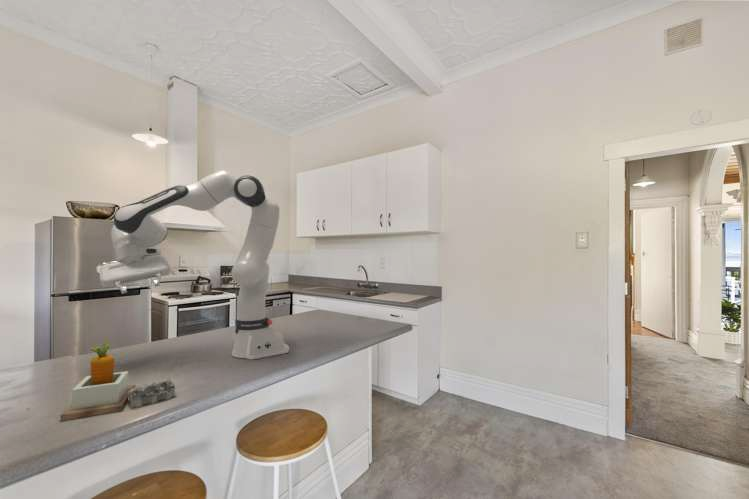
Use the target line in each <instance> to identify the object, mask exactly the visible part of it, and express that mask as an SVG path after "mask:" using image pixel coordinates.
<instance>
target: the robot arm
mask: <svg viewBox="0 0 749 499" xmlns="http://www.w3.org/2000/svg"><path fill="white" fill-rule="evenodd" d="M230 198H235V199H236V200H237V201H239V202H240V203H242V204H243V205H245V206H248V207H250V208H251V216H250V220H249V224H248V226H247V227H248V228H247V232H246V235H245V238H244V242H243V245H242V247H241V249H240V251H239V253H238V256H237V258H236V261H235V263H234V265H233V266H232V268H231V271H230V272H231V279H232V280H233V281H234V282H235V283H236V284H237V285H239V286H240V288H239V291H238V292H239V293H238V295H237V298H236V319H235V321H234V333H235V337H234V344H233V347H232V350H231V351H232V352H231V356H232V357H234V358H239V359H245V360H256V359H257V360H258V359H261V358H262V359H263V358H267V357H268V358H269V357H274V356H278V355H284V354H287V353H289V352H290V347H289V345H288V344H287V343H285V342H284V337H283V335H282V333H281V332H280V331H278V330H276V329H275V328H274V327H272V326H271V325H273V320H272V319H271V318H269V317H266V297H267V292H268V291H267V290H268V282H269V274H270V267H269V264H268V263H267V260H268V258H269V256H270V253H271V251H272V250H273V248H274V247H273V246H274V243H275V240H276V234H277V229H278V226H279V222H280V206H279V205H278V203H276V202H275V201H273V200H270V199H269V198H267V197H266V193H265V187H264V185H263V184H262V183H261V181H260V180H259V178H256V177H255V176H252V175H250V174H249V175H242V176H240V177H238V178H236V177H235V175H233V174H232V173H231V172H229V171H228V170H225V169H223V170H222V169H221V170H218V171H215V172H213V173H211V174H209V175H207V176H205V177H203V178H201V179H200V180H198V181H196V182H194V183H191V184H188V185H187V184H186V185H181V184H180V185H175V186H172V187H169V188H167V189H164V190H162V191H159V192H158V193H155V194H153V195H150V196H149V197H147V198H143V199H142V200H139V201H137V202H133V203H130V204H126V205H123V206H121V207H120V208H118V209H117V210H116V211H115V213H114V216H113V223H114V225H113V226H112V227H111V230H110V239H111V243H112V246H113V249H114V250H115V254H114V255H115V259H116V260H115V261H108V262H103V263H100V264H98V265H97V266H96V267H95V270H96V273H97V274H98V275H99V280H100V285H101V286H102V287H103V288H110V287H115V288H116V289H117V290H119V291H120V292H121V294H122V295H123V294H127V293H128V290H127V286H126V285H125V286H123V285H124V284H128V283H129V284H130V283H134V282H140V281H144V280H148V279H149V280H150V279H153V278H155V280H153V285H154V287H160V286H161V283H160V281H161V279H162V277H164V276H169V275H170V273H171V265H170V263H169V262H168V260H167V258H166V256H164V254H163V255H162V252H161V249H160V248H153V247H155V246H156V245H159V244H161V243H162V242H164V240H165V239H166V238H167V236H168V227H167V225H166V224H164V223H163V222H161V221H160V220H158V219H157V218H156V217H154V216H152V215H154V214H156V213H159V212H161V211H163V210H165V209H167V208H169V207H174V206H179V207H180V206H181V207H187V208H190V209H192V210H195V211H200V212H207V211H209V210H211V209H214V208H216V206H218V205H219V204H221V203H223V202H224V201H226V200H227V199H230ZM151 247H152V248H151Z"/></svg>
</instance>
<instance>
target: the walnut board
mask: <svg viewBox="0 0 749 499" xmlns="http://www.w3.org/2000/svg"><path fill="white" fill-rule="evenodd" d="M135 387H136V384H130V385H129V384H128V389H127V391H126V392H125V394H124V395H123V397H122V398H121V399H120V401H119V402H118V403H112V404H105V405H99V406H93V407H86V408H80V409H73V410H72V403H70V405H69V406H68V407H66V409H65V410H64V411H63V412H62V413H61V414H60V422H65V421H70V420H75V419H76V420H77V419H83V418H84V419H85V418H89V417H95V416H101V415H107V414H112V413H118V412H119V413H120V412H123V410H124V408H125V407H126V406H127V404H128V392H129V391H130V390H131V389H133V388H135Z"/></svg>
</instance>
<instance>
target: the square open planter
mask: <svg viewBox="0 0 749 499" xmlns="http://www.w3.org/2000/svg"><path fill="white" fill-rule="evenodd" d="M128 386H129V371H128V370H127V371H120V372H113V378H112V382H111V383H108V384H100V385H93V383H92V379H91V375H88V376H85V377H84V378H83V379H82V380H81V381H80V382H79V383H78V384H77V385H75V387H74V388H72V390H71V404H72V410H73V409H80V408H86V407H93V406H99V405H105V404H112V403H118V402H119V401H120V399H121V398H122V397H123V395H124V394H125V392H126V391H127V389H128Z"/></svg>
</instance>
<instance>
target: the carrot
mask: <svg viewBox="0 0 749 499" xmlns="http://www.w3.org/2000/svg"><path fill="white" fill-rule="evenodd" d="M109 347H110V345H109V343H108V341H103V345H102V349H101V347H100V346H96V347H91V349H90V350H91V351H93V352H94V353H95V354H97V356H95V357H93V358H91V361H90V376H91V379H92V383H93V385H100V384H108V383H111V382H112V378H113V373H115V372H114V371H115V370H114V369H115V358H114V356H112V355H111V354H107V353H108V350H109Z"/></svg>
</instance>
